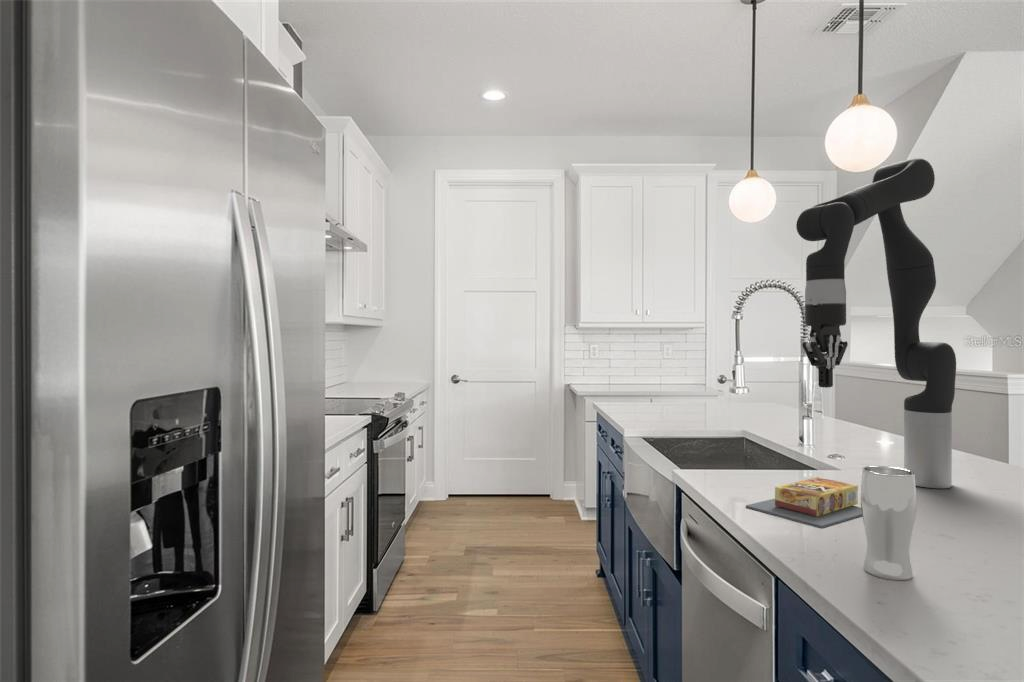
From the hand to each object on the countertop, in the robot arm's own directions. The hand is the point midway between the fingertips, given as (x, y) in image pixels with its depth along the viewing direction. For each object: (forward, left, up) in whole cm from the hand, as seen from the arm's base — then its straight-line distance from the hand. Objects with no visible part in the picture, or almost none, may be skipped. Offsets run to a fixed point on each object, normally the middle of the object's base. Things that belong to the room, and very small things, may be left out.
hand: (825, 387), depth 124 cm
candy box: (-4, 0, -22) cm, 22 cm away
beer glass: (+27, +25, -25) cm, 44 cm away
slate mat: (+6, 0, -24) cm, 25 cm away
